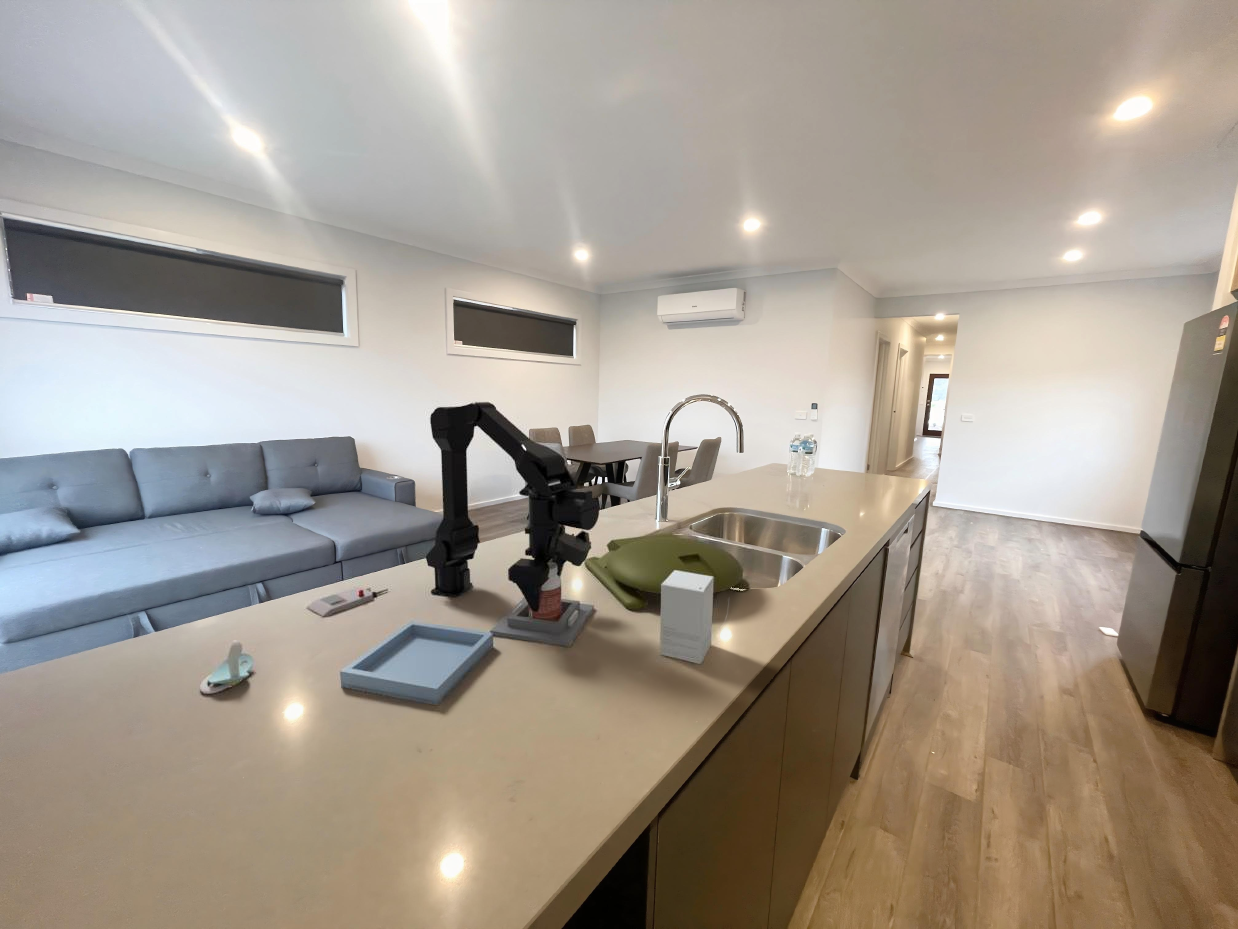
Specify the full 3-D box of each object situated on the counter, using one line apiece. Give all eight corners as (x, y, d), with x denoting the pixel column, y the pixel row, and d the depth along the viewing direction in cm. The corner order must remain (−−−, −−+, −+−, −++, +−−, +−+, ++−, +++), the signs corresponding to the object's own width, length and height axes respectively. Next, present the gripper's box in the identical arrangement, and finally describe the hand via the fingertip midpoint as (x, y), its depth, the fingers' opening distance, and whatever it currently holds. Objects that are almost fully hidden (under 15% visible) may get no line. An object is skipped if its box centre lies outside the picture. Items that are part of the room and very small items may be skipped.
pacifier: (193, 702, 67) (247, 690, 70) (186, 661, 66) (240, 650, 69) (208, 675, 74) (257, 664, 76) (202, 637, 73) (251, 627, 75)
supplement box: (712, 644, 85) (715, 576, 83) (700, 666, 78) (704, 592, 76) (672, 635, 88) (674, 568, 86) (657, 654, 81) (660, 583, 79)
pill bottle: (568, 621, 92) (568, 566, 90) (541, 632, 88) (540, 574, 86) (549, 610, 96) (548, 557, 95) (522, 620, 92) (521, 565, 90)
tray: (341, 686, 71) (339, 671, 70) (411, 634, 86) (411, 621, 86) (437, 705, 67) (436, 688, 67) (493, 646, 83) (493, 633, 82)
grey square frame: (490, 634, 86) (489, 622, 86) (525, 600, 101) (525, 589, 101) (569, 646, 83) (569, 633, 83) (594, 608, 97) (594, 597, 97)
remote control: (296, 614, 94) (295, 600, 94) (374, 588, 107) (373, 575, 106) (312, 624, 90) (311, 609, 90) (391, 595, 103) (390, 582, 103)
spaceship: (581, 565, 122) (581, 528, 121) (686, 551, 134) (687, 517, 133) (641, 629, 91) (643, 579, 89) (771, 603, 103) (775, 559, 101)
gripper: (568, 539, 78) (568, 629, 81) (600, 512, 96) (599, 586, 98) (505, 533, 81) (507, 621, 83) (548, 507, 99) (548, 580, 101)
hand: (545, 600), depth 91 cm, fingers open, 9 cm apart
